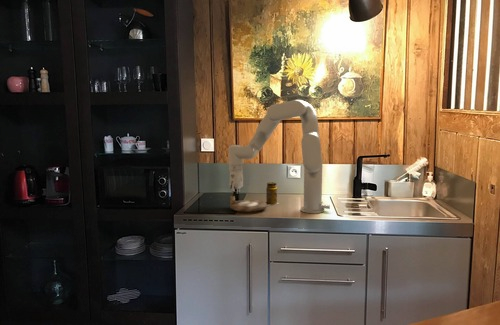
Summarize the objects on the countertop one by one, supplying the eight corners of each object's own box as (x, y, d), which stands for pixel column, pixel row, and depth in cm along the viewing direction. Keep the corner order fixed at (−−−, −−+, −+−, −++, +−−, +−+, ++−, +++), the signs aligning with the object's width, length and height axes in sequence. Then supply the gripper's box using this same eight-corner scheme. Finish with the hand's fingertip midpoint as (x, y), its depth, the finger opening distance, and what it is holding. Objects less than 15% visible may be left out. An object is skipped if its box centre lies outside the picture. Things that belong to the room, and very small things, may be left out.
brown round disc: (268, 203, 236) (268, 193, 235) (264, 212, 217) (264, 201, 216) (233, 202, 239) (233, 192, 238) (226, 210, 219) (226, 200, 219)
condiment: (279, 203, 241) (280, 183, 239) (268, 205, 236) (268, 184, 235) (272, 201, 247) (272, 181, 245) (260, 203, 242) (260, 182, 241)
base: (261, 207, 232) (261, 205, 232) (255, 213, 221) (255, 210, 220) (241, 206, 235) (241, 204, 235) (234, 211, 224) (234, 209, 224)
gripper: (237, 170, 221) (237, 203, 223) (246, 166, 235) (247, 198, 237) (224, 169, 223) (224, 203, 226) (234, 165, 237) (234, 197, 240)
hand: (236, 200), depth 232 cm, fingers closed
